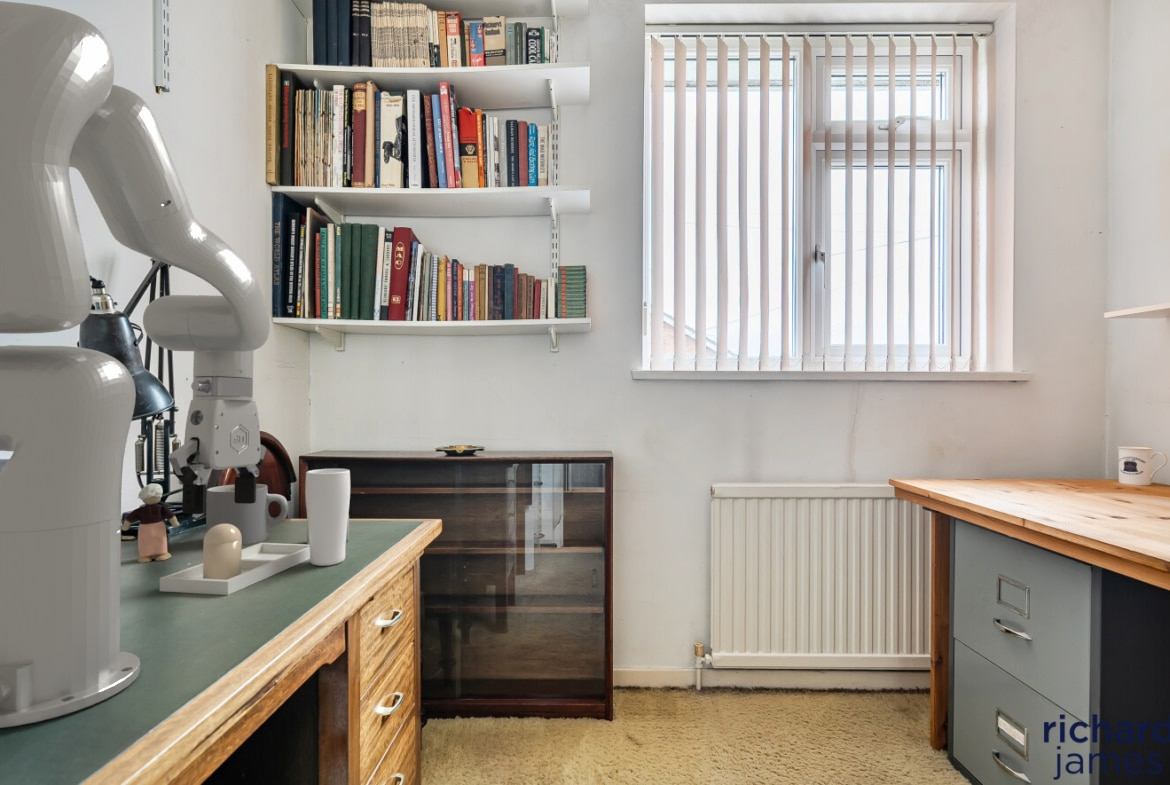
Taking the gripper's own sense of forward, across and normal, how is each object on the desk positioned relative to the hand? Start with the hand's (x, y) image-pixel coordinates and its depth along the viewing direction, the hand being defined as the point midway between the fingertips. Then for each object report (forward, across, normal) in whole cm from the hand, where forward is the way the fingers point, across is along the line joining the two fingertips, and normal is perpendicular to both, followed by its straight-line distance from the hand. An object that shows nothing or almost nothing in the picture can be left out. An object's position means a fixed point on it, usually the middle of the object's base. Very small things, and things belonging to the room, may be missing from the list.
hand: (220, 508), depth 86 cm
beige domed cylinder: (+10, +1, 0) cm, 10 cm away
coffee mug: (+10, +24, +15) cm, 30 cm away
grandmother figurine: (+11, +9, +21) cm, 25 cm away
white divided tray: (+11, +6, 0) cm, 12 cm away
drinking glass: (+11, +12, -9) cm, 19 cm away
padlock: (+10, +25, -1) cm, 27 cm away
